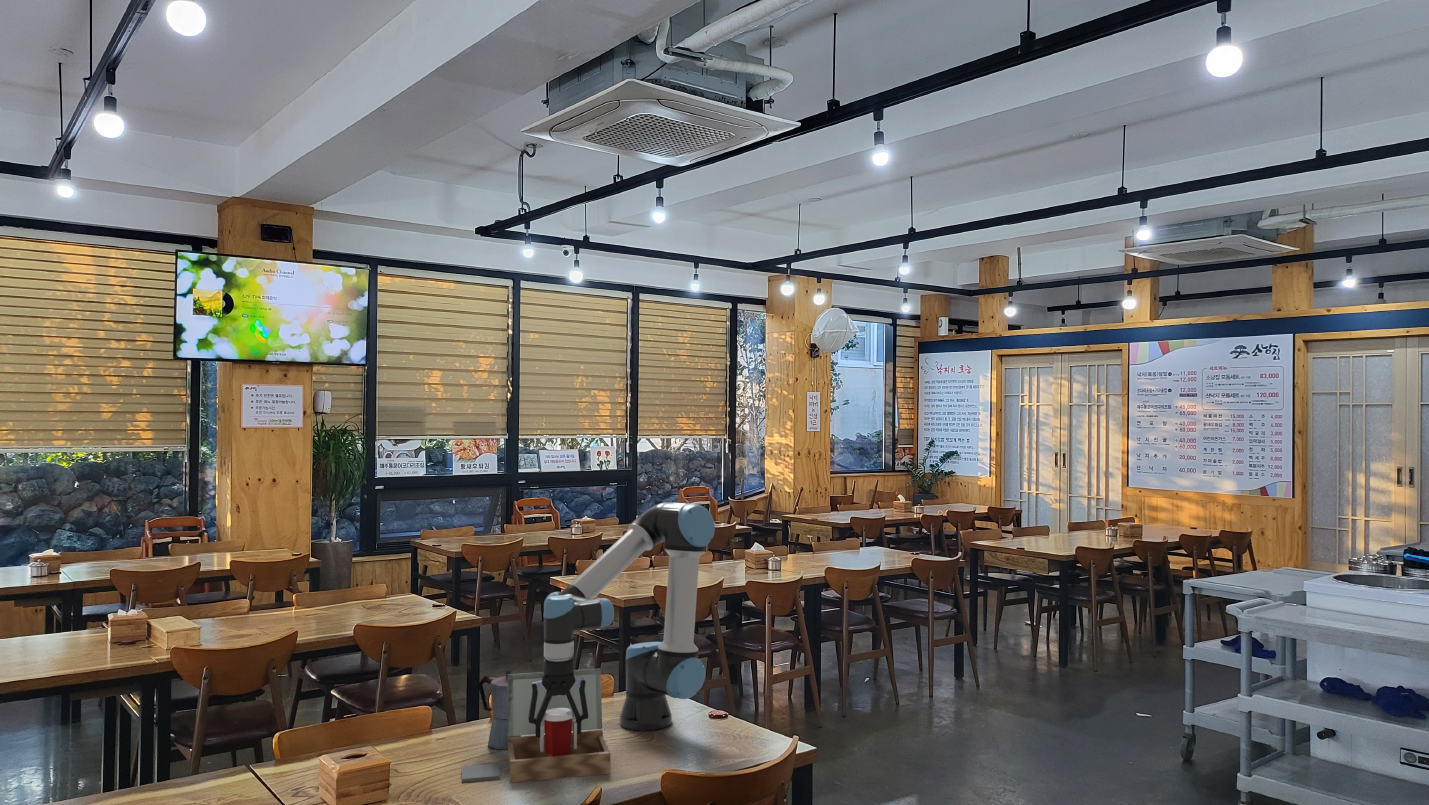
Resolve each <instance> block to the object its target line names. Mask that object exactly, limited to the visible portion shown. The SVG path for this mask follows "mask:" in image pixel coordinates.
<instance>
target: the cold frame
mask: <svg viewBox="0 0 1429 805" xmlns="http://www.w3.org/2000/svg"><path fill="white" fill-rule="evenodd" d="M603 732H604V731H603V730H602V729H595V730H583V731H581V734H577V749H574V748H573V731H572V733H571V751H570V755H563V756H552V757H546V741H545V734H544V752H540V738H536V735H535V734H534V735H521V737H510V738H508V749H507V767H508V775H509V776H508V777H509V783H510V784H512V783H521V782H532V781H543V780H552V779H553V780H554V779H563V778H564V779H565V778H574V777H576V778H577V777H586V776H596V775H606V774H607V775H609V774H611V752H610V749H609V745H608V744H607V741H606V740H605V737H604V734H603Z"/></svg>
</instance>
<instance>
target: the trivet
mask: <svg viewBox="0 0 1429 805" xmlns="http://www.w3.org/2000/svg"><path fill="white" fill-rule="evenodd" d="M500 770H501V769H500V763H499V762H497V763H486V764H485V763H484V764H473V765H462V768H461V773H462V774H461V783H470V782H481V781H493V780H500V779H501V773H500V772H501V771H500Z"/></svg>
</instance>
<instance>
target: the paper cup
mask: <svg viewBox="0 0 1429 805" xmlns="http://www.w3.org/2000/svg"><path fill="white" fill-rule="evenodd" d="M573 716H574V715H573V714H572V711H571V709H568V708H553V709H549V710H547V711H546V712H545V714H544V717H543V719H544V723H545V734H544V735H545V741H546V757H552V756H563V755H570V751H571V733H572V732H573V731H572V718H573Z"/></svg>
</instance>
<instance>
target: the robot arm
mask: <svg viewBox="0 0 1429 805" xmlns="http://www.w3.org/2000/svg"><path fill="white" fill-rule="evenodd" d="M715 526H716V525H715V520H714V517H713V515H712V514H711V513H710V511H709V510H708V508H706V507H705V506H703V505H701V504H695V503H685V502H683V503H681V502H672V501H665V502H661V503H658V504H655V505H654V506H651V507H650V508H648V509H646V510H645V511H644V512H643V513H641V514H640V515H639V516H638V517H636V518H635V519H634V520H633V521H632V522H631V523H629V525H628V527H627V532H625V533H624V534H623V535H622V536H621V537H620V538H619V539H617V541H615V542H614V544H612V545H611V546H610V547H609V548H608V549H607V550H606V551H605V552H603V553H602V554H601V555H600V556H599V557H598V558H596V560H595V561H594V562H593V563H591V564H590V565H589V566H588V567H587V568H586V569H585V570H584V571H583V572H582V573H581V574H580V575H578V576H577V577H576V578H575V579H574V580H572V582H571V583H570V584H568V585H567V586H566V587H565V588H564V589H563V590H562V591H554V592H551V593H549V594H548V595H547V596H546V598H544V599H545V600H544V602H543V614H542V615H543V657H544V660H543V672H544V676H543V678H542V680H541V681H538V682H535V681H533V682H532V683H531V685H532V690H533V691H532V697H531V704H530V710H529V716H528V720H529V723H533V724H535V734H534V736H535V735H536V738H540V752H544V735H545V734H544V725H543V722H542V719H543V717H544V714H545V712H546V709H547V707H548V704H549V702H550V700H551V698H552V695H553V696H557V695H565V694H566V696H567V699H568V701H569V703H570V706H571V708H572V710H573V713H574V715H575V718H576V720H573V731H572V732H573V748H574V749H577V734H581V732H582V731H581V722H582V720H584V719H587V718H588V710H587V703H586V696H585V690H584V689H585V684H586V681H585V679H584V678H581V679H578V678H575V677H574V670H575V669H574V667H575V664H574V662H575V661H574V658H573V656H574V647H575V646H574V645H575V643H574V638H575V633H577V632H581V631H582V632H583V631H588V630H593V629H594V630H595V629H601V628H605V627H608V626H610V625H611V624H612V623H613V621H614V619H615V608H614V604H613V603H612V602H611V600H610V599H608V598H605V597H602V598H601V597H600V598H599V597H598V595H600V593H601V592H603V591H604V590H605V589H606V588H607V587H608V586H609V585H610V584H611V583H612V582H613V581H614V580H616V578H618V577H619V576H620V575H621V574H622V573H624V571H625V570H626V569H627V568H629V566H630V565H631V564H632V563H633V562H634V561H635V560H637V559H638V558H639V557H640V556H641V555H642V554H643V553H644V552H645V551H651V550H652V549H653V548H654V547H655V546H657V545H659V544H661V543H664V551H665V552H666V553H667V555H668V570H667V571H668V572H667V584H666V601H665V602H666V603H665V612H664V613H665V614H664V626H663V627H664V628H663V640H662V641H647V642H639V643H638V642H637V643H634V644H632V645H628V647H627V648H626V651H625V653H626V654H625V698H624V701H623V702H624V703H623V705H622V707H621V712H620V715H619V725H620V726H621V727H622V728H624V729H627V730H632V731H644V732H645V731H656V730H660V729H661V730H662V729H664V728H666V727H669V726H671V724H672V722H673V721H672V720H673V719H672V718H673V717H672V716H673V715H672V712H671V708H670V706H669V701H668V699H667V696H669V697H670V698H672V699H680V700H688V699H691V698H692V697H694V696H695V695H696V694H697V693H698V691H700V690H701V688H702V687H703V684H704V682H705V680H706V667H705V664H703V662H702V661H701V660H700V659H699V648H698V647H697V645H696V644H695V642H694V641H695V626H696V612H697V611H696V610H697V595H698V583H699V582H698V581H699V566H700V565H699V564H700V558H701V556H702V555H704V553H705V552H706V546H707V545H708V544H710V543H711V540H713V538H714V535H715V530H716V527H715ZM596 597H597V598H596ZM574 683H576V684H577V687H578V688H579V693H580V700H581V706H582V714H579V712H578V709H577V707H576V705H575V702H574V700H573V698H572V695H571V693H570V689H571V688H572V686H573V685H574ZM542 685H543V686H544V687H545V689H546V690H547V692H546V694H545V697H544V700H543V702H542V705H541V707H540V710H539V712H538V715H537V717H536V718H535V717H534V715H535V709H536V702H537V696H538V691H539V690H540V687H541V686H542Z"/></svg>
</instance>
